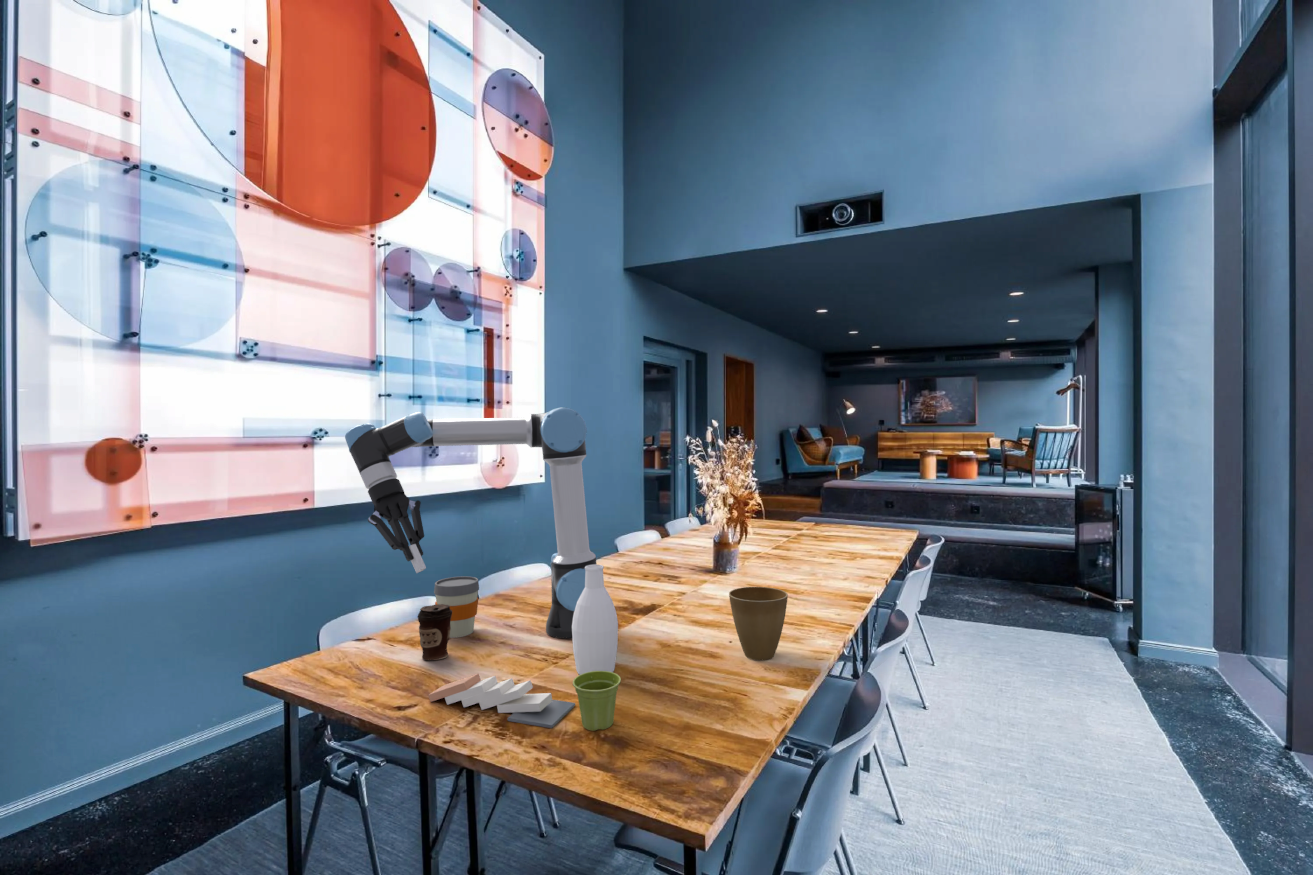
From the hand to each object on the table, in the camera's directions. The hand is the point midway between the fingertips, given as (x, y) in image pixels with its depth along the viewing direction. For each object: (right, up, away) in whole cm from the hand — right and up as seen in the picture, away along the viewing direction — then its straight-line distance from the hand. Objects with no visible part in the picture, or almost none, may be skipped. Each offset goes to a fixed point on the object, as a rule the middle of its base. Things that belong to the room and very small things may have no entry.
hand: (421, 570), depth 142 cm
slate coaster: (+33, -24, -21) cm, 47 cm away
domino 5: (+25, -24, -18) cm, 39 cm away
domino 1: (+9, -24, -13) cm, 29 cm away
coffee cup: (-1, -25, +11) cm, 27 cm away
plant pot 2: (+83, -24, +9) cm, 87 cm away
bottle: (+42, -24, 0) cm, 49 cm away
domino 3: (+17, -24, -16) cm, 33 cm away
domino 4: (+21, -24, -17) cm, 36 cm away
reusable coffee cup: (-1, -25, +30) cm, 39 cm away
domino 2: (+13, -24, -14) cm, 31 cm away
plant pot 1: (+45, -25, -26) cm, 58 cm away
